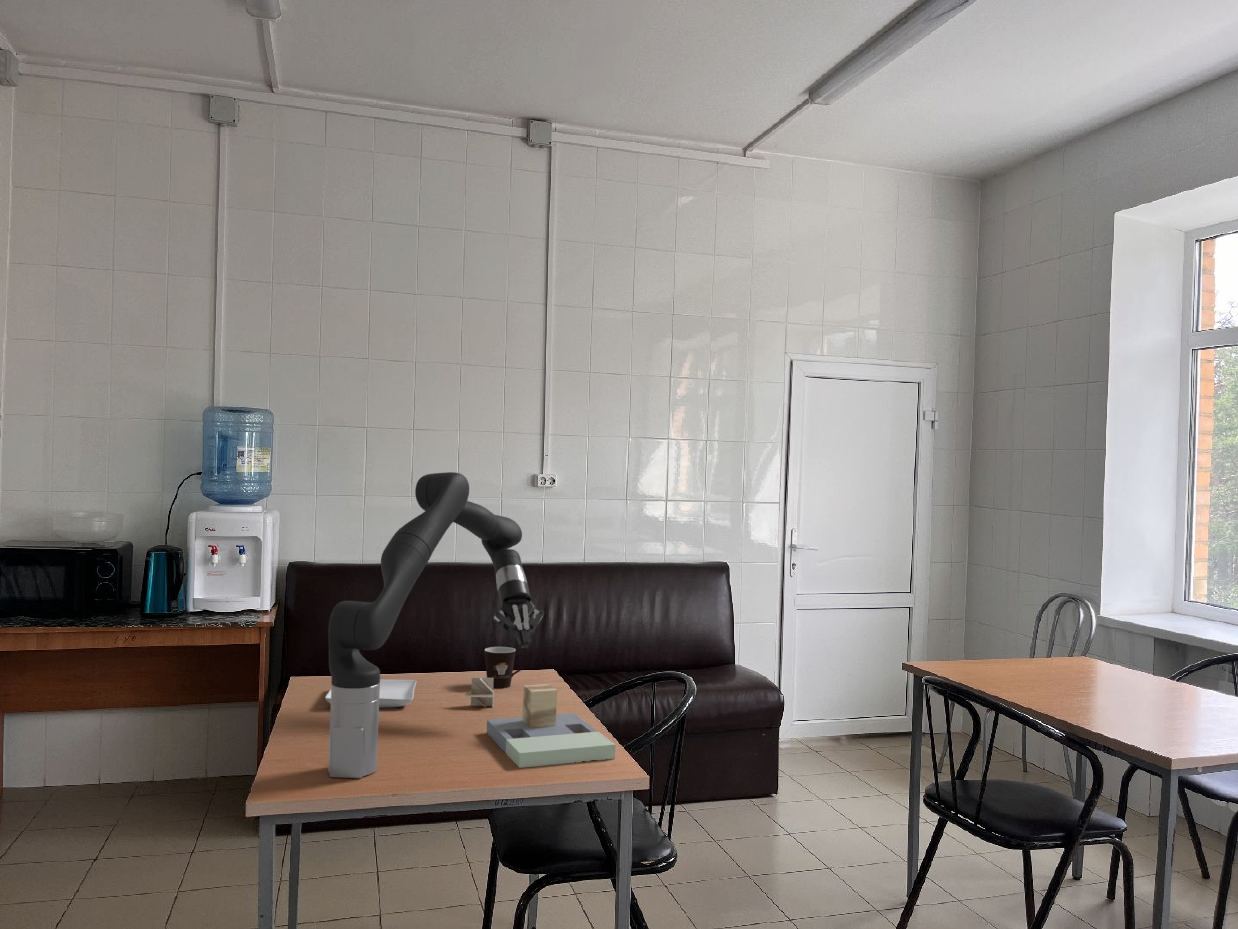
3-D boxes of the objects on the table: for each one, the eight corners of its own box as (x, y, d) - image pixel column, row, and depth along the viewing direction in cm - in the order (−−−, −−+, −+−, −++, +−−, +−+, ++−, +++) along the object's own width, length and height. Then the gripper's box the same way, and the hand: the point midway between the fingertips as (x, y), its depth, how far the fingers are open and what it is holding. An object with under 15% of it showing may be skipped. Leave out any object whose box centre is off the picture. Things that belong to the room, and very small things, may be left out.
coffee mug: (479, 688, 253) (480, 651, 253) (488, 681, 261) (490, 646, 261) (520, 691, 251) (521, 654, 251) (528, 684, 259) (529, 648, 259)
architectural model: (492, 710, 231) (493, 681, 231) (464, 710, 231) (465, 680, 231) (493, 707, 235) (494, 678, 235) (465, 706, 234) (466, 677, 234)
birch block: (555, 725, 207) (557, 690, 207) (530, 727, 205) (531, 691, 205) (547, 718, 213) (548, 684, 213) (522, 720, 211) (523, 685, 211)
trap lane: (615, 758, 195) (615, 744, 195) (519, 768, 186) (519, 753, 186) (573, 725, 219) (573, 713, 219) (486, 732, 210) (487, 719, 210)
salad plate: (416, 690, 249) (417, 678, 249) (412, 711, 228) (413, 697, 228) (335, 691, 245) (335, 678, 245) (323, 712, 224) (324, 698, 224)
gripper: (490, 578, 225) (502, 638, 213) (541, 577, 230) (556, 635, 219) (483, 597, 230) (495, 656, 218) (534, 596, 235) (548, 653, 224)
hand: (525, 646), depth 219 cm, fingers closed
